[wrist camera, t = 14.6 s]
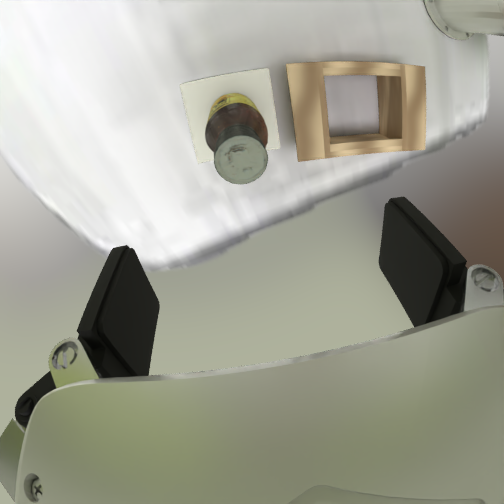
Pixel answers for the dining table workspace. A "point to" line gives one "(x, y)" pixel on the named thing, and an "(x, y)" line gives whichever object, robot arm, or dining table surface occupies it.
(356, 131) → the dining table surface
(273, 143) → the mat
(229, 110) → the sauce bottle
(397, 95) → the carton
